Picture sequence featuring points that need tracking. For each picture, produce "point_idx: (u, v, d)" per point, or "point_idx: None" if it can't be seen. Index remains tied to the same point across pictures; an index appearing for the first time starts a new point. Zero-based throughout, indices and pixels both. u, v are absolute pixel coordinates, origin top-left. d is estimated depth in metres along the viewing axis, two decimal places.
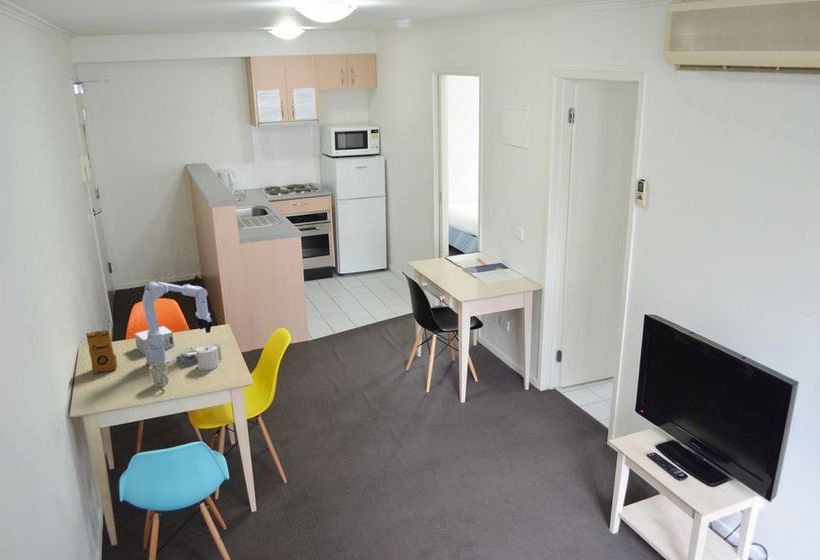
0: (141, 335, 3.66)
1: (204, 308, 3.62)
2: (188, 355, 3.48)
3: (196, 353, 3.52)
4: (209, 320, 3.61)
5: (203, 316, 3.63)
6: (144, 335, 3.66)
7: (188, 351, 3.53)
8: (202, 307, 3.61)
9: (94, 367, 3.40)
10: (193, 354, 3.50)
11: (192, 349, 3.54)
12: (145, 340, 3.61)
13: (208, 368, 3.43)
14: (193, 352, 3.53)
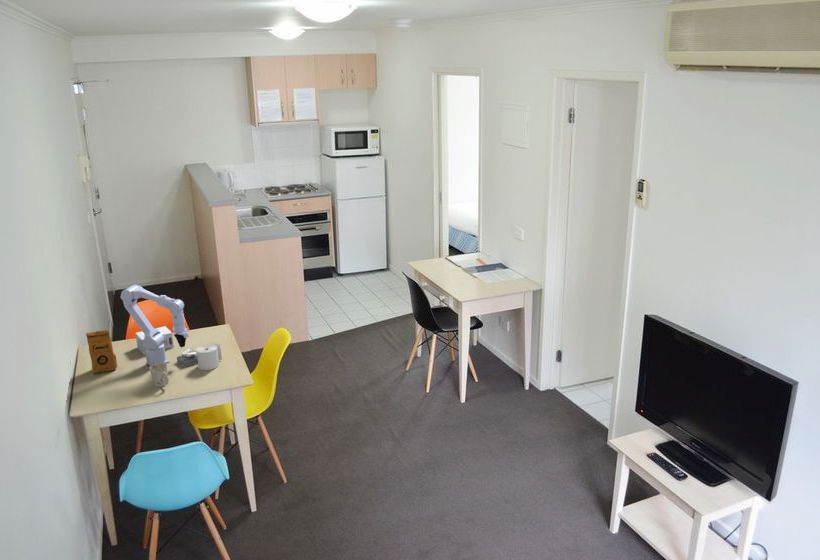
0: (140, 335, 3.66)
1: (176, 324, 3.41)
2: (188, 355, 3.48)
3: (196, 353, 3.52)
4: (186, 336, 3.41)
5: (180, 331, 3.43)
6: (143, 335, 3.66)
7: (188, 351, 3.53)
8: (174, 322, 3.41)
9: (94, 367, 3.40)
10: (193, 354, 3.50)
11: (192, 349, 3.54)
12: (144, 340, 3.61)
13: (208, 368, 3.43)
14: (193, 352, 3.53)
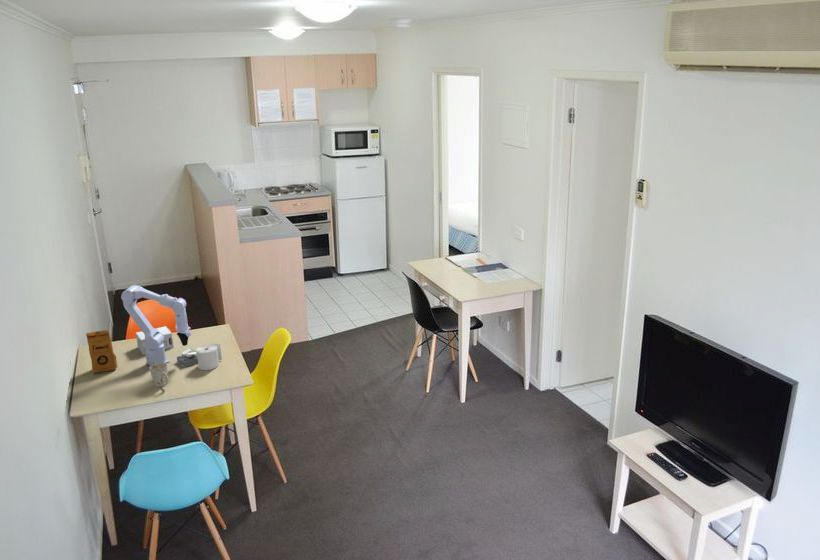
0: (140, 335, 3.67)
1: (179, 322, 3.43)
2: (188, 355, 3.48)
3: None
4: (188, 334, 3.42)
5: (182, 330, 3.44)
6: (143, 335, 3.66)
7: (188, 351, 3.53)
8: (177, 321, 3.43)
9: (94, 367, 3.40)
10: (193, 354, 3.50)
11: (192, 349, 3.54)
12: (143, 340, 3.61)
13: (208, 368, 3.43)
14: (193, 352, 3.53)
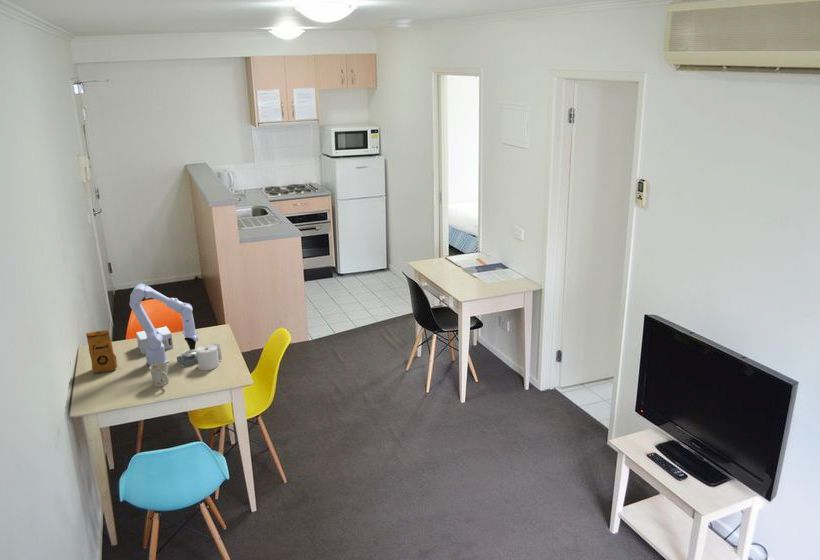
0: (140, 335, 3.67)
1: (188, 327, 3.49)
2: (188, 355, 3.48)
3: None
4: (196, 339, 3.48)
5: (190, 335, 3.50)
6: (143, 335, 3.67)
7: (188, 351, 3.53)
8: (186, 326, 3.48)
9: (94, 367, 3.40)
10: (193, 354, 3.50)
11: (192, 349, 3.54)
12: (143, 340, 3.62)
13: (208, 368, 3.43)
14: (193, 352, 3.53)
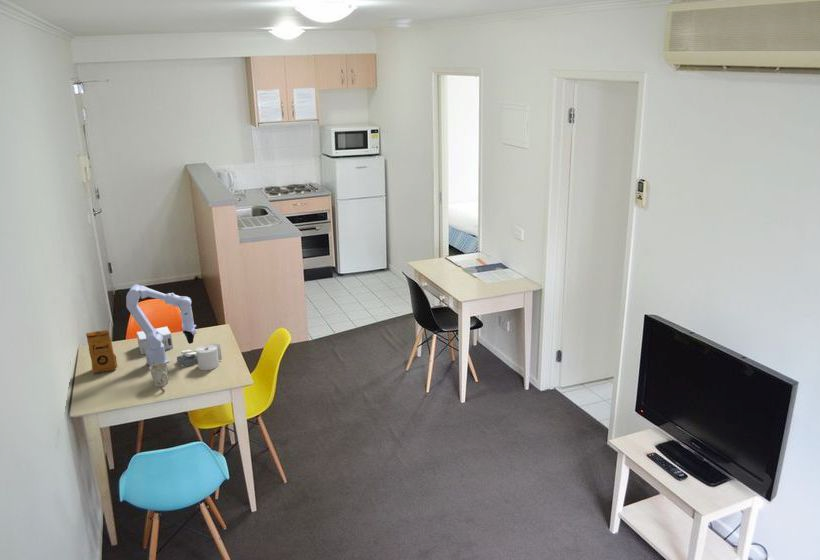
0: (140, 334, 3.67)
1: (186, 320, 3.47)
2: (188, 355, 3.48)
3: None
4: (194, 332, 3.46)
5: (188, 328, 3.48)
6: (143, 334, 3.67)
7: (188, 351, 3.53)
8: (184, 319, 3.47)
9: (94, 367, 3.40)
10: (193, 354, 3.50)
11: (193, 351, 3.55)
12: (142, 340, 3.62)
13: (208, 368, 3.43)
14: (193, 352, 3.53)
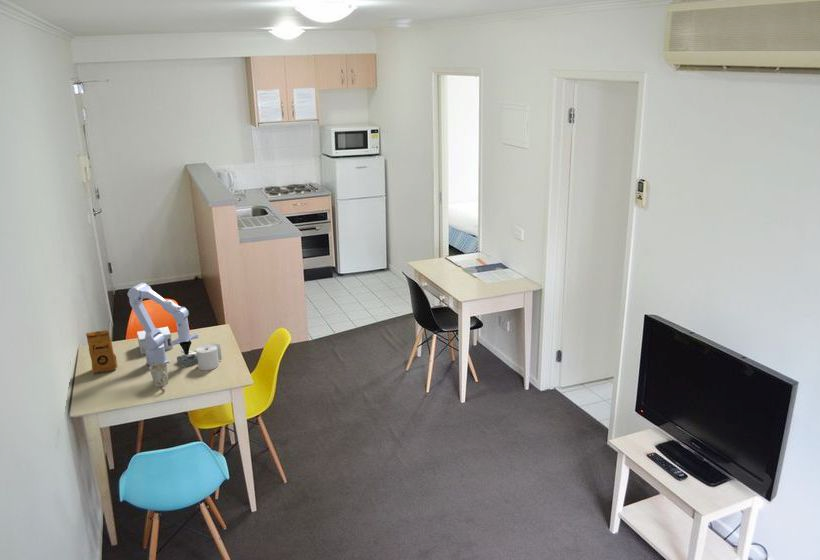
0: (140, 334, 3.67)
1: (180, 331, 3.42)
2: (188, 355, 3.48)
3: (196, 353, 3.52)
4: (171, 344, 3.42)
5: (178, 338, 3.45)
6: (143, 334, 3.67)
7: (189, 351, 3.53)
8: (178, 330, 3.42)
9: (94, 367, 3.40)
10: (193, 354, 3.50)
11: None
12: (141, 340, 3.62)
13: (208, 368, 3.43)
14: (193, 352, 3.53)
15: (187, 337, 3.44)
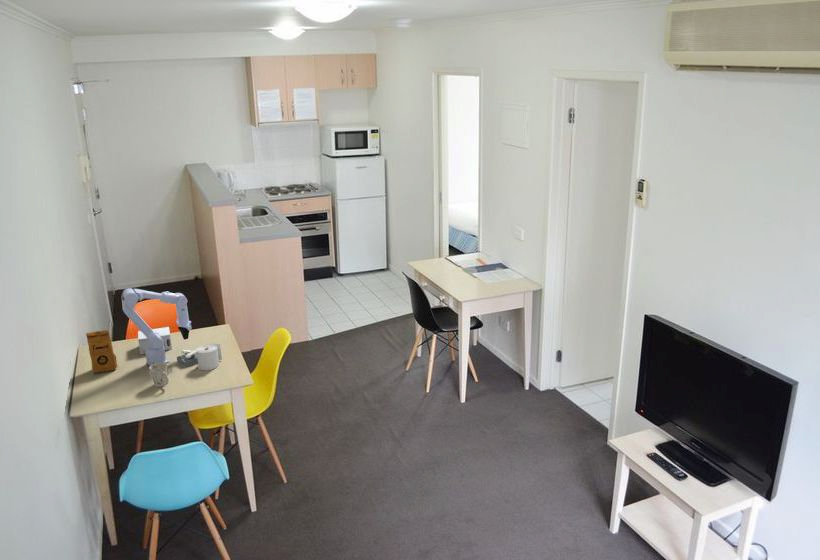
0: (140, 334, 3.68)
1: (183, 316, 3.52)
2: (188, 357, 3.49)
3: (195, 352, 3.51)
4: (189, 328, 3.51)
5: (183, 324, 3.53)
6: (143, 334, 3.67)
7: (189, 351, 3.53)
8: (181, 315, 3.51)
9: (94, 367, 3.40)
10: (193, 354, 3.50)
11: None
12: (140, 340, 3.62)
13: (208, 368, 3.43)
14: (192, 351, 3.52)
15: None
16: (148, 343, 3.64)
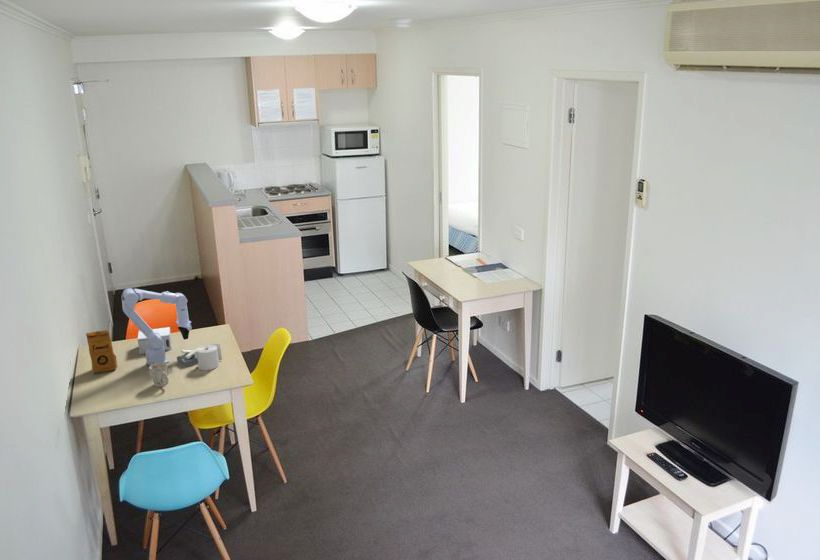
0: (140, 334, 3.68)
1: (183, 316, 3.52)
2: (188, 357, 3.49)
3: (195, 351, 3.51)
4: (190, 328, 3.51)
5: (183, 324, 3.53)
6: (143, 334, 3.68)
7: (189, 351, 3.53)
8: (181, 315, 3.51)
9: (94, 367, 3.40)
10: (193, 354, 3.50)
11: None
12: (140, 339, 3.62)
13: (208, 368, 3.43)
14: (192, 351, 3.52)
15: None
16: (147, 343, 3.64)
